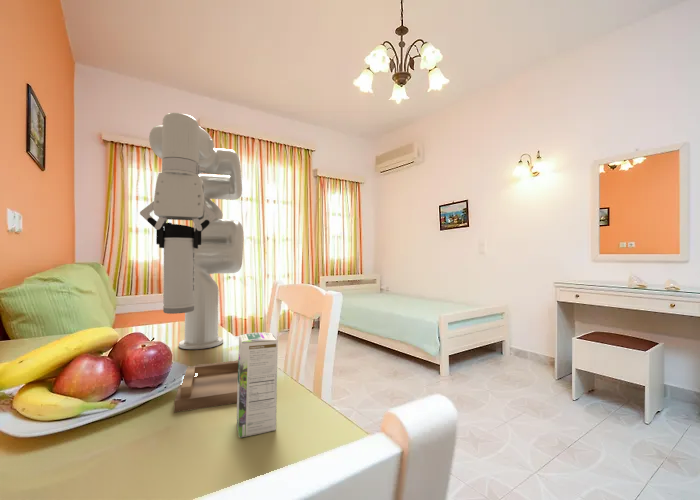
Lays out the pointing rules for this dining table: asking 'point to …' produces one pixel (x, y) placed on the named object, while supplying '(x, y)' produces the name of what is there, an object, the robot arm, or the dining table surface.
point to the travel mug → (178, 268)
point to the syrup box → (257, 384)
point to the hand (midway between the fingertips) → (179, 247)
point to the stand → (208, 386)
